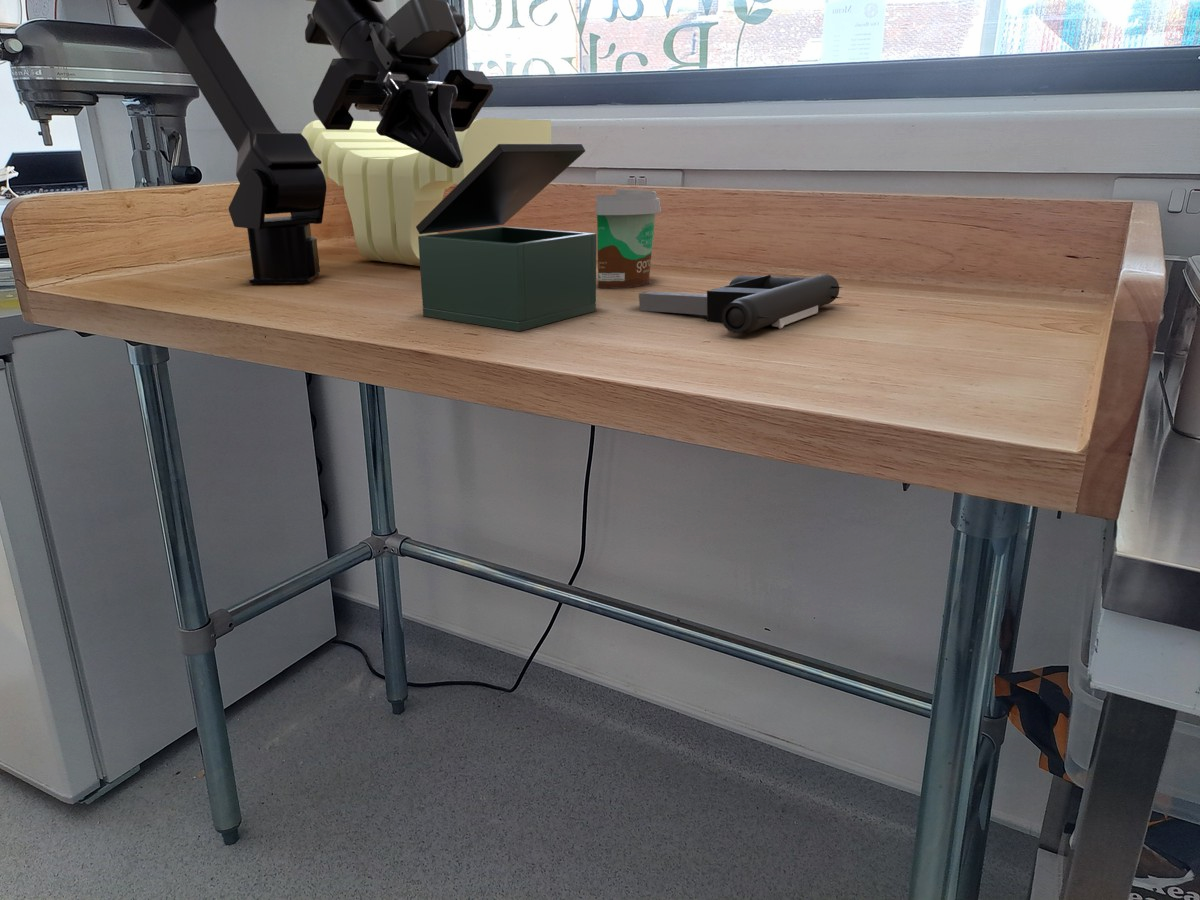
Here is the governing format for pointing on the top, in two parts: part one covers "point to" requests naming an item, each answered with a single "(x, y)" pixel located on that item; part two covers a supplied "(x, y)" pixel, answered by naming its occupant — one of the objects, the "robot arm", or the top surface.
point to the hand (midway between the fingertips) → (458, 164)
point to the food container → (625, 237)
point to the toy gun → (750, 301)
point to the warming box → (508, 276)
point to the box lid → (500, 186)
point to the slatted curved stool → (403, 177)
